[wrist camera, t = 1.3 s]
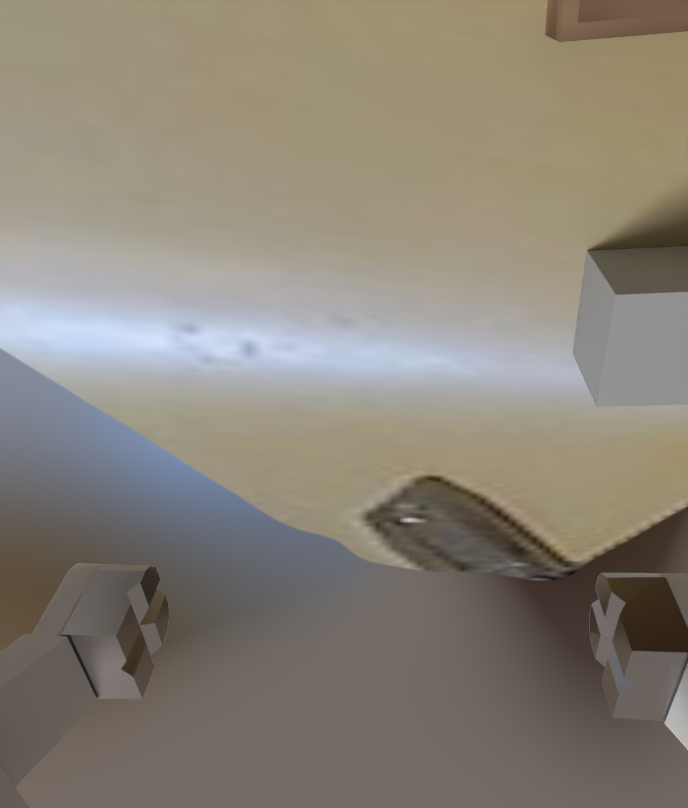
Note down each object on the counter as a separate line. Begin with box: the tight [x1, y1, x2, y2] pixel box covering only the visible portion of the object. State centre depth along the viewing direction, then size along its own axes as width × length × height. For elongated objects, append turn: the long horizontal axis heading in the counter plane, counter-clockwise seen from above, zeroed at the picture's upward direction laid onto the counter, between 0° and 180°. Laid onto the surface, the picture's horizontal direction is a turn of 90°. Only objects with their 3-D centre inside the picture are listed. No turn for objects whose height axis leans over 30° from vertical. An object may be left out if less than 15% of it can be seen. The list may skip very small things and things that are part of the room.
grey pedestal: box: [573, 246, 688, 407], centre depth 42 cm, size 8×8×7 cm
